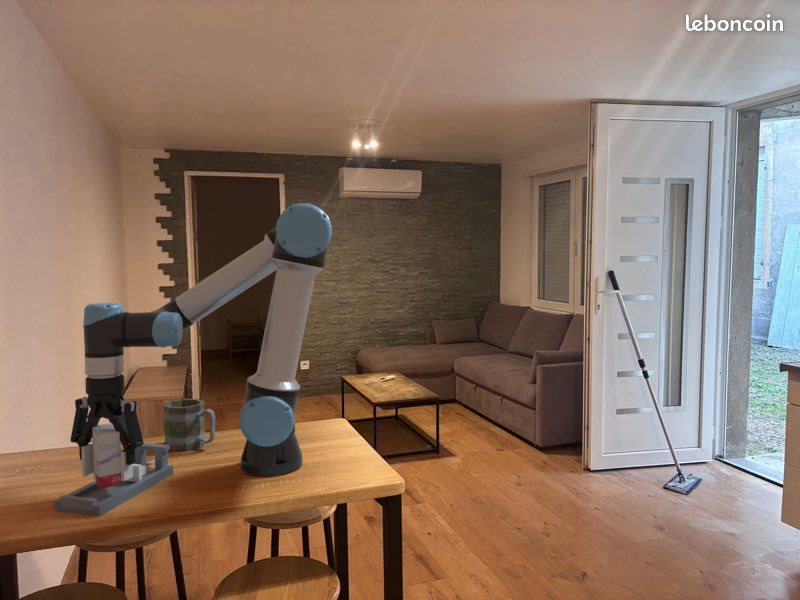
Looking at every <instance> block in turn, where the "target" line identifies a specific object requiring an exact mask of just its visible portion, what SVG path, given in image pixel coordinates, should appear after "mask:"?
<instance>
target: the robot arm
mask: <svg viewBox="0 0 800 600" xmlns="http://www.w3.org/2000/svg"><path fill="white" fill-rule="evenodd" d="M332 234H333V227H332V223H331V220H330V218H329V216H328V215H327V213H326V212H325V211H324V210H323V209H322V208H320V207H318V206H317V205H313V204H312V203H303V202H302V203H296V204H292V205H291V206H289V207H287V208H285V209H284V210H283V211H282V213H280V215H279V217H278V219H277V221H276V226H275V227H274V228H273V229H271V230H270V231H268V232H267V233H265V234H264V240H263V241H261V242H259V243H258V244H256V245H255V246H253V247H252V248H250V249H249V250H247V251H245V252H244V253H243V254H241V255H239V256H238V257H236V258H234V260H232V261H230V262H229V263H227V264H225V265H224V266H223V267H221V268H219V269H218V270H217V271H215V272H213V273H211V274H210V275H209V276H207V277H205V278H204V279H202V280H201V281H199V282H198V283H196V284H195V285H193V286H192V287H190V288H189V289H187V290H186V291H184V292H183V293H181V294H180V295H178V296H176V297H175V298H173V299H172V300H170V301H169V302H167V303H165V304H164V305H162V306H161V307H160V308H158V309H156V310H153V311H147V312H125V310H124V308H123V304H121V303H119V302H97V303H96V302H95V303H89V304H87V305H85V307H84V309H83V310H84V311H83V324H82V328H83V338H84V339H83V341H84V342H83V343H84V375H86V378H85V379H84V380H85V383H84V385H85V394H86V395H88V396H84V397H81V398H77V399H75V400H74V404H75V405H74V406H75V412H74V418H73V423H72V427H71V428H72V430H71V433H70V434H71V436H70V442H71V443H75V444H77V446H78V447H79V451H78V453H79V454H78V455H79V460H80V461H81V474H82V475H81V477H88V476H90V475H92V474H94V470H93V446H92V428H93V427H96V426H97V425H99V422H100V420H101V419H102V418H103V419H106V420H108V422H109V424H111V423H112V424H113V426H114V428H115V431H117V432H120V444H121V446H122V448H123V449H121V481H126V480H128V479H130V478H132V477H133V463H135V448H137V447H139V446H141V445H143V443H144V438H143V434H142V430H141V427H140V422H139V421H140V420H139V417H138V413H137V405H138V403H137V401H136V400H132V401H128V400H125V397H124V395H123V394H124V391H125V375H124V374H123V373H124V371H125V360H124V356H125V355H124V353H125V352H124V348H139V347H140V348H166V347H177V346H179V345H180V344H181V342H182V339H183V333H184V331H186V330H187V329H189V328H190V327H191V326H193V325H194V324H195V323H198V322H199V321H200V320H203V318H205V317H207V316H208V315H210V314H211V313H213V312H214V311H216V310H218V308H220V307H221V306H223V305H225V304H226V303H228V302H230V301H231V300H233V299H234V298H236V297H237V296H239V295H240V294H242V293H243V292H245V291H247V290H248V289H249V288H251V287H253V286H254V285H255V284H257V283H258V282H260V281H263V279H265V278H267V276H269V275H271V274H272V273H274V272H275V276H274V282H273V286H272V292H271V297H270V303H269V307H268V313H267V318H266V323H265V328H264V332H263V333H264V334H263V338H262V343H261V349H260V354H259V359H258V364H257V370H256V372H255V373H254V374H253V375H250V376H248V377H247V379H246V385H245V395H244V401H243V405H242V408H241V410H240V413H239V417H238V418H239V419H238V421H239V428H240V431H241V433H242V435H243V436H244V437H245V438H246V439H245V440H246V441H245V444H244V448H243V451H242V454H241V457H240V469H241V471H242V472H243V473H245V474H247V475H252V476H260V477H269V476H270V477H271V476H279V475H280V476H281V475H284V474H285V475H286V474H289V473H292V472H294V471H296V470H298V469H300V468H301V467H302V466H303V453H302V452H303V451H302V450H301V447H300V443H299V441H298V438H297V436H296V411H297V404H298V400H299V394H300V389H301V386H300V384H299V383H298V381H297V380H296V375H297V371H298V370H297V369H298V365H299V360H300V356H301V355H300V354H301V349H302V345H303V339H304V333H305V328H306V324H307V319H308V314H309V308H310V303H311V299H312V298H311V297H312V294H313V287H314V284H315V279H316V278H315V277H316V276H317V274H318V273H320V272H321V271H323V270H324V268H325V263H326V257H327V252H328V247H329V244H330V242H331V240H332Z"/></svg>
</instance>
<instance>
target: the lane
mask: <svg viewBox="0 0 800 600" xmlns="http://www.w3.org/2000/svg"><path fill="white" fill-rule="evenodd" d="M169 449H170V445H165V444H163V443H151V442H150V443H149V442H143V445H141V446H139V447H137V448H135V463H133V464H139V465H144V464H146V463H147V451H153V452H154V459H155V463H154V466H155V467H150V466H148V467H146V471H147V474H145V475H143V476H142V479H141V480H139V481H138V482H132V481H123V484H120V485H116V486H112V487H107V488H103V489H99V487H98V485H97V483H96V481H95V480H94V481H92V482H90V483H88V484H86V485H84V486H81V487H80V488H78V489H76V490H73V491H71V492H69V493H68V494H63V495H61V496H60V497H59V498H58V499H55V500H53V501H54V503H53V504H54V505H53V506H54V511H56V512H58V511H59V512H64V513H72V514H73V513H74V514H80V515H87V516H95V517H96V516H97V517H101V516H102V515H104V514H106V513H108V512H110V511H111V510H113V509H115V508H117V507H118V506H120V505H122V504H124V503H126V502H127V501H128V500H130V499H132V498H135V496H137V495H139V494H141V493H142V492H144V491H146V490H147V489H149V488H151V487H153V486H155V485H157V484H158V483H160V482H162V481H163V480H165V479H167V478H168V477H170V476H172V475H174V465H173V464H172V465H169V463H168V462H169V461H168V458H169V457H168V450H169Z"/></svg>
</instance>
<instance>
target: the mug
mask: <svg viewBox="0 0 800 600" xmlns="http://www.w3.org/2000/svg"><path fill="white" fill-rule="evenodd" d="M205 404H206V403H205V400H202V399H198V398H181V399H175V400H170V401H168V402H166V403H164V404H162V406H163V407H162V408H163V413H164V415H163V416H164V417H163V419H164V420H163V432H164V445H170V449H169V450H167V452H171V453H172V452H173V453H186V452H190V451H195V450H199V449H201V448H203V447H204V446H205V445H206V444H211V443H212V442H213V441H214V439H215V437H216V436H215V435H216V424H215V423H216V416H215V415H216V414H215V412H214V410H212V409H211V408H207V409H205ZM207 413H208V414H209V417H210V418H209V419H210V421H209V438H207V437H205V435H206V434H205V428H206V427H205V426H206V418H205V415H206V414H207Z"/></svg>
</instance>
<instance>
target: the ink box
mask: <svg viewBox="0 0 800 600" xmlns="http://www.w3.org/2000/svg"><path fill="white" fill-rule="evenodd" d="M91 441H92V442H91V443H92V446H93V470H94V473H93V478H94V481H96V483H97V485H98V487H99V489H103V488H107V487H112V486H116V485H120V484H123V481H121V451H122V449H121V448H122V447H121V446H122V444H121V441H120V432H117V431H115V428H114V426H113V424H112V423H106V424H103V423H102V424H98V425H97V426H96V427H93V428H92V439H91Z"/></svg>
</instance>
